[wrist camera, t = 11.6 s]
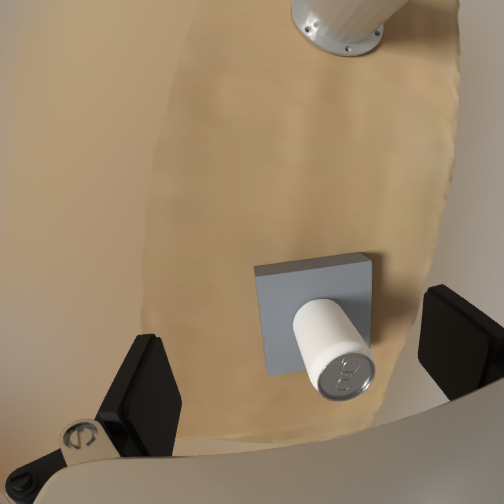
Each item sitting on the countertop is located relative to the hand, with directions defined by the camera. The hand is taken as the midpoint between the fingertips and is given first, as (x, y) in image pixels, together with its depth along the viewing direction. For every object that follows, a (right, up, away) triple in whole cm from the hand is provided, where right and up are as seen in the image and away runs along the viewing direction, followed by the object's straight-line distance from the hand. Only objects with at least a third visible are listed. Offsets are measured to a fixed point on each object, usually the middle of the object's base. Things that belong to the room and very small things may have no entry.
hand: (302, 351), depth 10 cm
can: (+6, -5, +28) cm, 29 cm away
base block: (+6, -4, +32) cm, 33 cm away
